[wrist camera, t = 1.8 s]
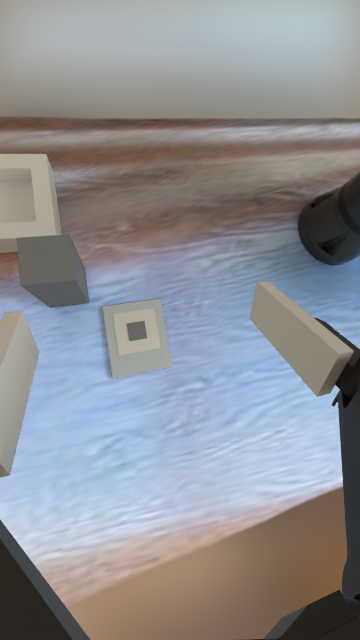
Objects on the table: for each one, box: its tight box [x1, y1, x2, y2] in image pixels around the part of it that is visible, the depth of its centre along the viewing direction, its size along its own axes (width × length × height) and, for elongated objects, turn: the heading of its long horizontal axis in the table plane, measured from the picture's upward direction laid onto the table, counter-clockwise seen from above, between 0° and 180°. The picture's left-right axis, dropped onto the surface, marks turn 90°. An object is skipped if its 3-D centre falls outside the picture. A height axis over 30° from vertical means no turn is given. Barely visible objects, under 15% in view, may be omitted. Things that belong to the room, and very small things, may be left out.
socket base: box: [0, 154, 61, 253], centre depth 40 cm, size 14×14×4 cm
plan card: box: [102, 299, 173, 379], centre depth 43 cm, size 10×12×1 cm
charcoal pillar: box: [16, 234, 89, 308], centre depth 37 cm, size 6×6×12 cm
